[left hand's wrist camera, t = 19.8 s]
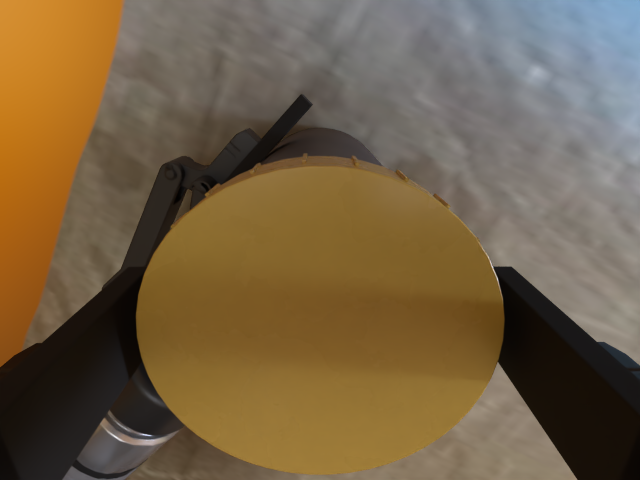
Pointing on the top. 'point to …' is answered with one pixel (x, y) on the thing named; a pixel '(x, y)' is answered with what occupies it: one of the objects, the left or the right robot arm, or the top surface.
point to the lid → (320, 316)
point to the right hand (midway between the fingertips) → (373, 167)
